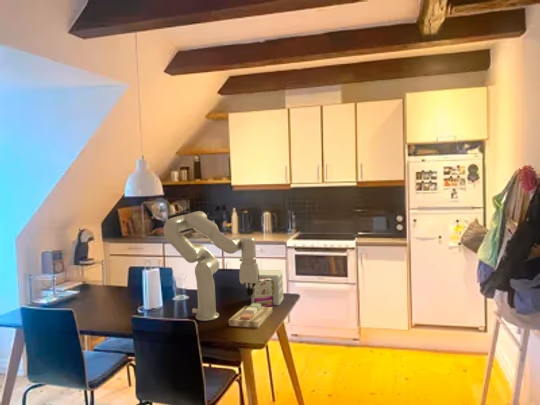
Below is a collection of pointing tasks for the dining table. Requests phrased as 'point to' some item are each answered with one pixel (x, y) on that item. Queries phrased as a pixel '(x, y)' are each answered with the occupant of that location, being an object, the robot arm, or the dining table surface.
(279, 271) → the supplement box
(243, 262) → the robot arm
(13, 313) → the dining table surface
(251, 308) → the offwhite key
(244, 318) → the terracotta key
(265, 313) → the keypad base
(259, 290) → the candy bar box
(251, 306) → the sage key
